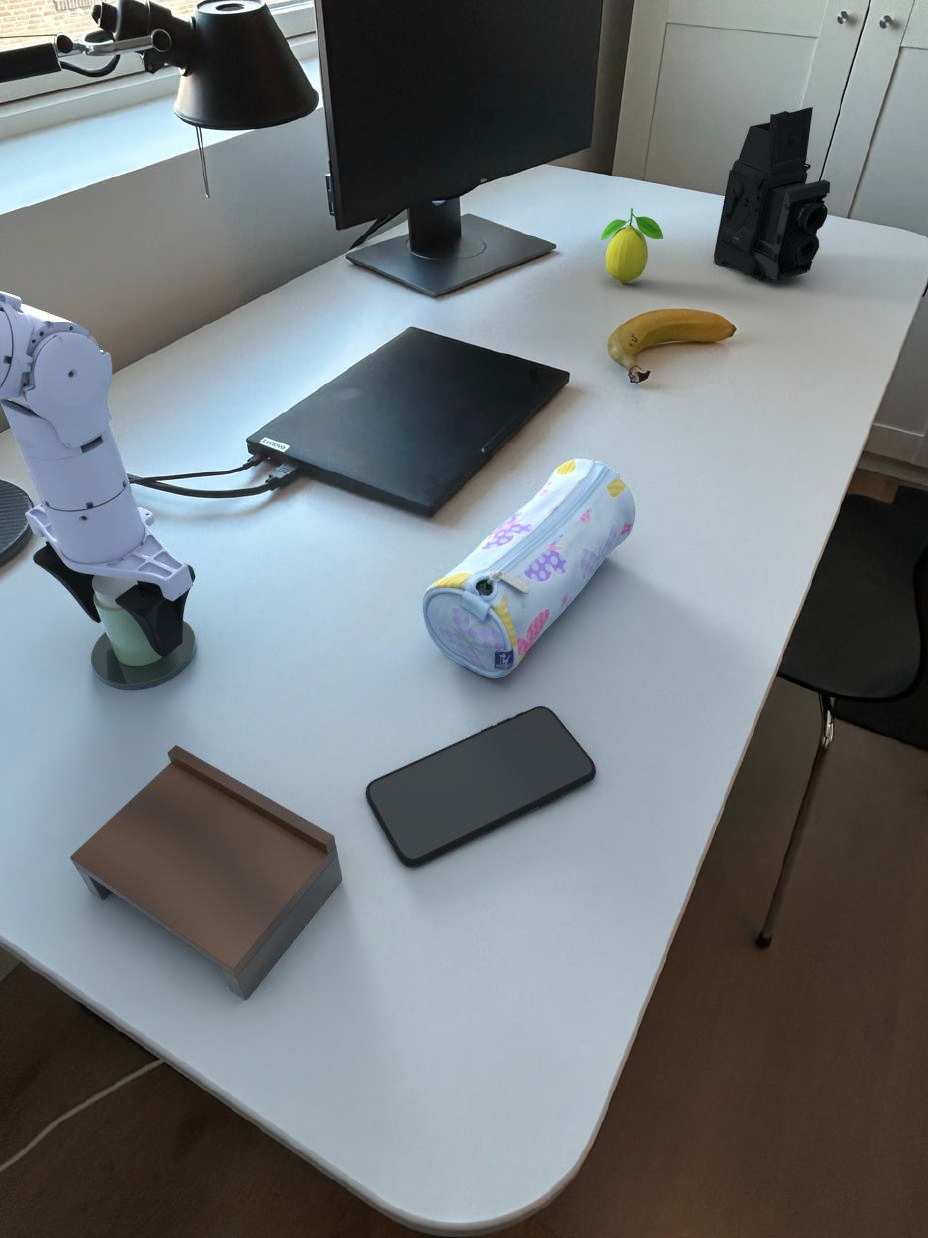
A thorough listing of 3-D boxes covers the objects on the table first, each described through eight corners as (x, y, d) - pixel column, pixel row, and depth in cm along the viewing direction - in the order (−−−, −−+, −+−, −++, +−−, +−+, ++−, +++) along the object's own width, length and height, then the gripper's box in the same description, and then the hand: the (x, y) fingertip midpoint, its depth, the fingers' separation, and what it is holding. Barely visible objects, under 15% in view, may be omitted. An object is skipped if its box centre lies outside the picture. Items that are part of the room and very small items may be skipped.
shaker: (105, 662, 68) (76, 594, 63) (130, 624, 72) (104, 555, 67) (158, 669, 68) (133, 600, 63) (181, 630, 71) (159, 562, 66)
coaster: (74, 682, 68) (71, 677, 67) (121, 612, 73) (119, 607, 73) (171, 696, 67) (169, 690, 66) (211, 623, 72) (210, 618, 72)
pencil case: (505, 704, 66) (508, 612, 59) (413, 656, 69) (407, 564, 63) (634, 557, 78) (649, 468, 72) (550, 523, 82) (557, 435, 75)
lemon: (656, 289, 119) (667, 212, 113) (618, 296, 118) (627, 219, 111) (630, 271, 124) (640, 196, 117) (594, 277, 122) (601, 202, 115)
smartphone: (358, 783, 60) (545, 699, 65) (359, 791, 60) (544, 707, 65) (406, 869, 55) (603, 771, 60) (407, 876, 56) (602, 779, 60)
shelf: (246, 1001, 50) (229, 961, 46) (89, 891, 55) (63, 848, 51) (343, 879, 55) (334, 835, 52) (192, 789, 60) (175, 744, 57)
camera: (771, 297, 117) (811, 130, 103) (703, 262, 126) (732, 104, 112) (825, 281, 121) (871, 118, 107) (755, 249, 129) (789, 94, 116)
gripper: (205, 489, 59) (242, 634, 68) (59, 429, 64) (112, 571, 74) (124, 545, 54) (176, 692, 64) (-24, 476, 60) (43, 620, 69)
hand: (137, 631), depth 68 cm, fingers open, 6 cm apart
